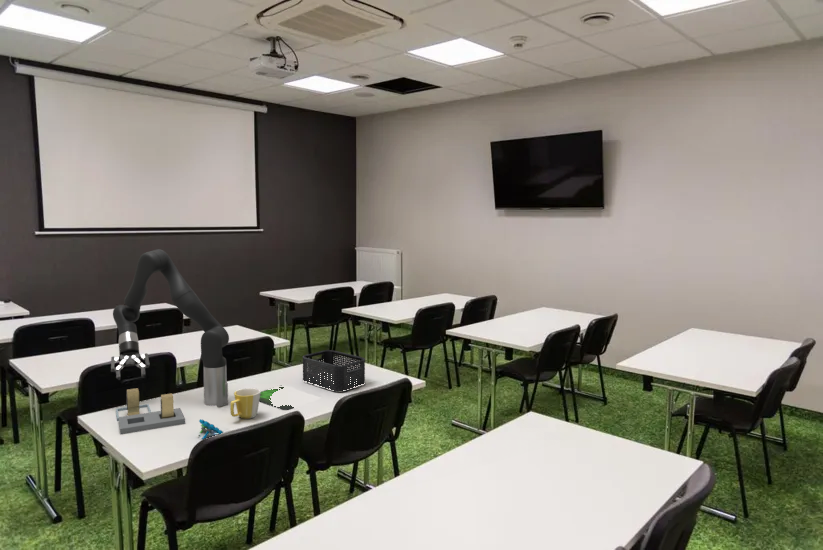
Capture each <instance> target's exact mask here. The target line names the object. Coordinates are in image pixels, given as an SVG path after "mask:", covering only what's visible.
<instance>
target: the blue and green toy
mask: <svg viewBox="0 0 823 550" xmlns="http://www.w3.org/2000/svg"><path fill="white" fill-rule="evenodd" d="M198 422H199V423H200V427H201V428H200V429H201V430H200V431H199V434H198V437H200V436H201V434H202V433H203V432H205V434H204V435H203V437H202V438H201V439H202V440H203V439H204V438H205V439H207V437H208V436H209V434H210V433H211V432H213V433H216V434H218V435H220V434H221V433H224V431H223V430H222V429H220V428H219V427H218V426H217V427H216V426H215V424H212V423H209V422H208V421H206V420H204V419H199V420H198Z"/></svg>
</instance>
